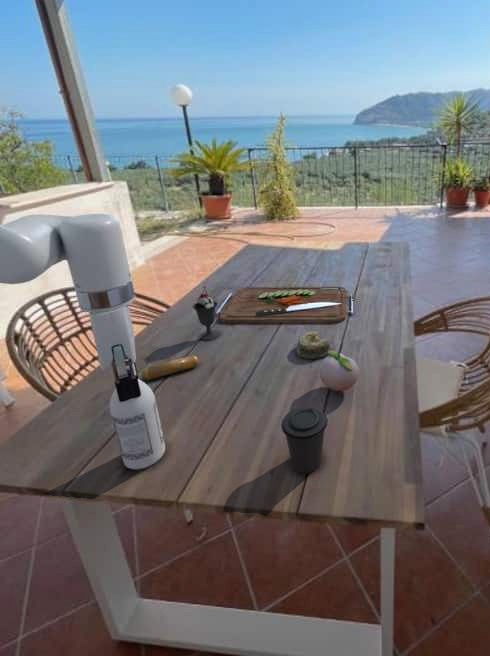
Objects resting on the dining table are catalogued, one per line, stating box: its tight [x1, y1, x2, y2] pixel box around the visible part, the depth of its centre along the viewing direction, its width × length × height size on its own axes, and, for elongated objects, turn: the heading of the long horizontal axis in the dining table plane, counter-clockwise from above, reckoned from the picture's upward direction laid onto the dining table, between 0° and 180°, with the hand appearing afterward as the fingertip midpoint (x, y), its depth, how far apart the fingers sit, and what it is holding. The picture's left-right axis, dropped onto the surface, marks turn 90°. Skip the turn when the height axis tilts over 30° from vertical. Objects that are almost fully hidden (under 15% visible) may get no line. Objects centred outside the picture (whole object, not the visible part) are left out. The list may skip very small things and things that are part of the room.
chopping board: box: [215, 286, 354, 324], centre depth 134 cm, size 45×27×3 cm, turn 91°
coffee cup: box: [280, 405, 329, 474], centre depth 70 cm, size 8×8×10 cm
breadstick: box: [140, 355, 200, 381], centre depth 96 cm, size 13×3×3 cm, turn 122°
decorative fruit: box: [318, 350, 360, 392], centre depth 89 cm, size 9×8×10 cm
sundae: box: [192, 286, 219, 341], centre depth 111 cm, size 7×7×15 cm
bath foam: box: [109, 360, 166, 470], centre depth 69 cm, size 7×7×20 cm
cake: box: [296, 331, 333, 360], centre depth 106 cm, size 10×10×5 cm
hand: (129, 390), depth 67 cm, fingers closed on bath foam, 3 cm apart
